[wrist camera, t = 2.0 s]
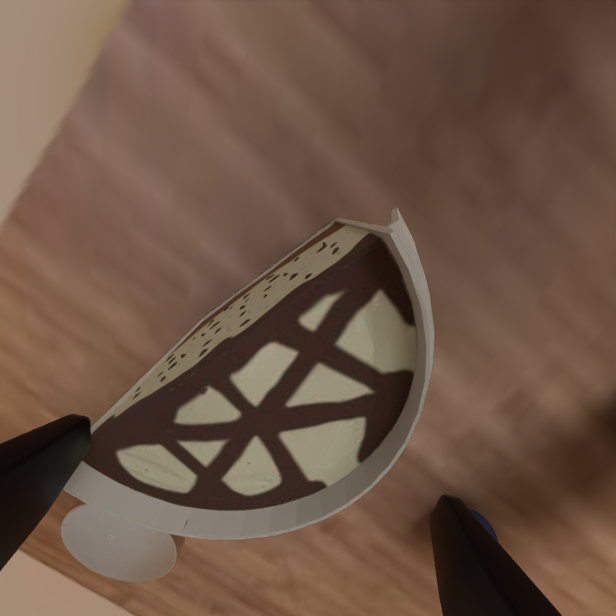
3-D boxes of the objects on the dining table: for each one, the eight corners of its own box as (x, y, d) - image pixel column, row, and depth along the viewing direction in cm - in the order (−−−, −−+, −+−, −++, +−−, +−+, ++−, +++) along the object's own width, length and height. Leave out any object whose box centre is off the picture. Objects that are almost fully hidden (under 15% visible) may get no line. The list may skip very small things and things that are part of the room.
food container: (251, 405, 20) (182, 598, 10) (183, 332, 18) (30, 483, 9) (428, 297, 17) (555, 436, 7) (363, 197, 15) (418, 213, 6)
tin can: (221, 428, 21) (181, 517, 15) (212, 493, 23) (174, 593, 17) (129, 408, 21) (54, 491, 15) (128, 476, 23) (63, 570, 17)
